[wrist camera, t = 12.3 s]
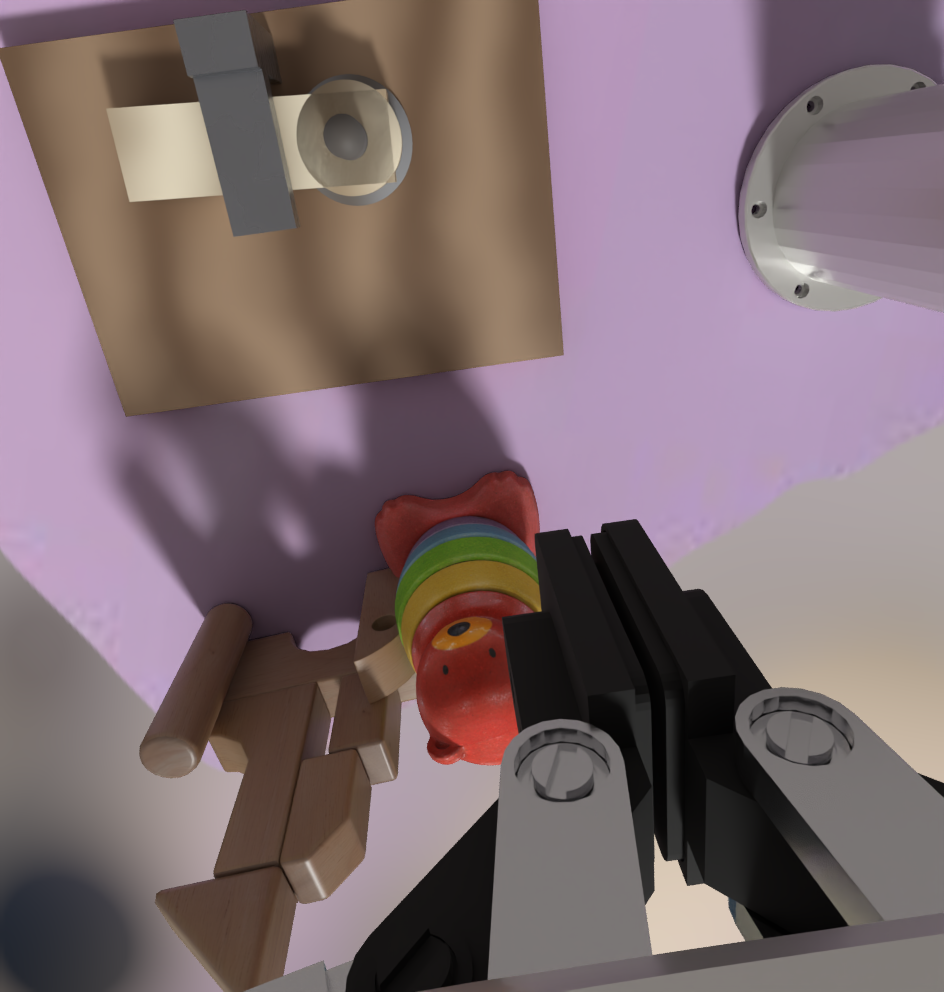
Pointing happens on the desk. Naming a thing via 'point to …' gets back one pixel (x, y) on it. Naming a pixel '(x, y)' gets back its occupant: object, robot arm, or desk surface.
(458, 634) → the stacking bear
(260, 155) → the keeper
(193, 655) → the wooden toy
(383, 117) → the link
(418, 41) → the base board
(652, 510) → the desk surface
